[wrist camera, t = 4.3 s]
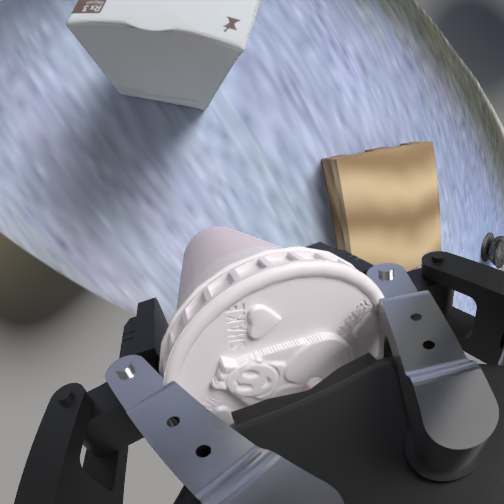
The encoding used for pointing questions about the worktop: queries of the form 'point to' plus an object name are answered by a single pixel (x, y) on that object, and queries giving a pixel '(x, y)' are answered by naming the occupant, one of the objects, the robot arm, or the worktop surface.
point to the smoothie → (263, 320)
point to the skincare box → (165, 44)
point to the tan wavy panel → (386, 203)
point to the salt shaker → (493, 250)
